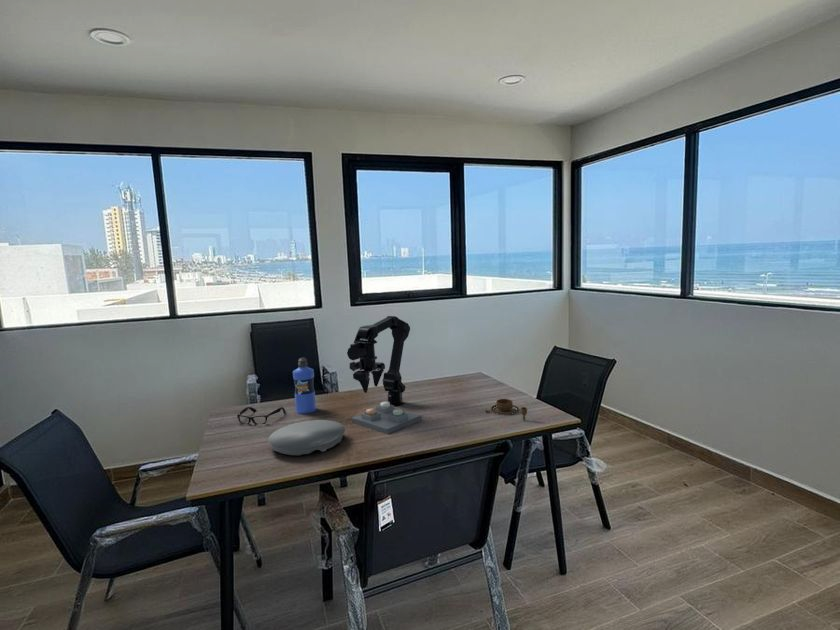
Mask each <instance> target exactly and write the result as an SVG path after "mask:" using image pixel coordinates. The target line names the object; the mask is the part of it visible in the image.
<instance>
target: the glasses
mask: <svg viewBox="0 0 840 630" xmlns="http://www.w3.org/2000/svg"><path fill="white" fill-rule="evenodd" d="M248 409H249V410H250V411H251V412H253V413H256V412H257V409H255V408H254V407H251V406H247V407H245V408H243V409H242V410H241V411H240V412H239V413H238V414H237V415H236V417H237V419H238V422H239V423H240V424H241V423H242V425H249V424H250V423H251V422H252V423H253V424H254V425H258V423H257V422H256V421H255V418H260V417H261V418H263V417H264V419H265V421H264V422H263V423H261V425H265V424H266V423H267V421H268V418H269V417H270V416H273V415H275V414H277V413H280V411H281V410H282V411H283V413H285V412H286V409H285V408H284V406H283V407H278V408H277V409H274V411H272V412H270V413H267V414H265V415H256V416H252V417H251V416H247V415H242V414H244V413H246V412H247V411H248ZM255 411H256V412H255ZM240 417H242V418H247V419H248V422H247V423H245V422H242V421H241V418H240Z"/></svg>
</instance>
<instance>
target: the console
mask: <svg viewBox="0 0 840 630" xmlns="http://www.w3.org/2000/svg"><path fill="white" fill-rule="evenodd" d="M375 409H376V414H375V415H372V416H369V415H366V411H365V412H363V413H361V414H359V415H355V416H352V417H351V423H352V424H356V425H359V426H362V427H365V428H368V429H370V430H374V431H377V432H380V433H383V434H386V435H389V434H392V433H393V432H396V431H397V430H401V429H403V428H405V427H408V426H410V425H412V424H415V423H417V422H420V421H422V419H423V418H422V415H421V414H417V413H414V412H410V411H406V410H404V409H402V410H403V415H401V416H399V417H396V416H393V410H395V409H397V408H396V406H393V405H390V407H388V408H386V409H384V408H381V404H380V405H377V406H375Z"/></svg>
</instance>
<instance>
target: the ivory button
mask: <svg viewBox="0 0 840 630" xmlns="http://www.w3.org/2000/svg"><path fill="white" fill-rule="evenodd" d="M380 405H381V408H384V409H386V408H388V407H390V402H388V401H381V402H380Z"/></svg>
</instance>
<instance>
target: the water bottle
mask: <svg viewBox="0 0 840 630" xmlns="http://www.w3.org/2000/svg"><path fill="white" fill-rule="evenodd" d="M297 361H298V362H297V366H298V367H297V368H296V369H294V370H293V371H292V377H293V383H294V387H295V388H294V401H295V403H294V404H295V412H296V414H300V415H301V414H302V415H304V414H305V415H306V414H311V413H314V412H316V410H317V407H316V391H315V388H314V378H315V370H314V368H311V367H309V366H308V365H309V364H308V360H307V358H305V357H300V358H298V360H297Z"/></svg>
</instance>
